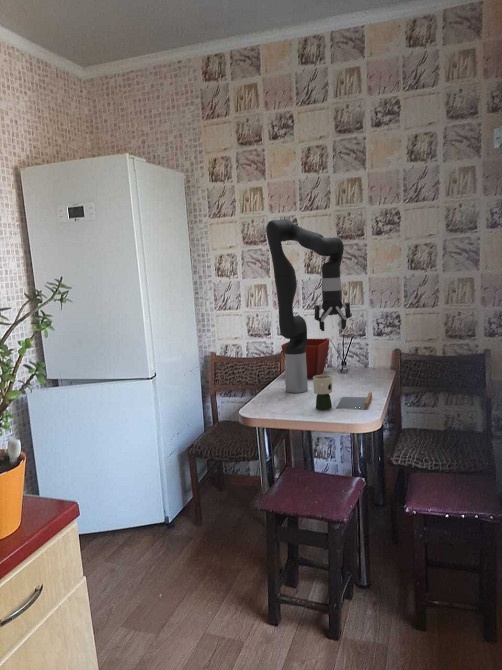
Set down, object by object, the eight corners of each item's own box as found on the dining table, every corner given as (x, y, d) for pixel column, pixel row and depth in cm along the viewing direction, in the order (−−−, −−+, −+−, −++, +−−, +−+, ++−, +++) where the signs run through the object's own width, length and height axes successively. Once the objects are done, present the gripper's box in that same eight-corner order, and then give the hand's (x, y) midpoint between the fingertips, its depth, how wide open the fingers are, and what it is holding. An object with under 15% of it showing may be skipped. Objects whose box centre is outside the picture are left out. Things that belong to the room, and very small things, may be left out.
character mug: (332, 413, 203) (330, 379, 201) (313, 413, 205) (311, 380, 203) (333, 405, 214) (332, 373, 212) (315, 405, 215) (314, 373, 213)
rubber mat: (335, 408, 209) (335, 402, 208) (342, 397, 224) (342, 391, 223) (367, 409, 205) (367, 403, 204) (372, 398, 220) (371, 392, 219)
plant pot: (319, 380, 256) (317, 345, 253) (282, 378, 264) (280, 345, 262) (331, 371, 273) (330, 338, 270) (296, 370, 281) (294, 338, 279)
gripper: (317, 291, 206) (319, 332, 209) (352, 288, 209) (353, 329, 211) (311, 289, 213) (312, 330, 216) (345, 287, 216) (346, 327, 219)
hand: (333, 329), depth 214 cm, fingers open, 8 cm apart
